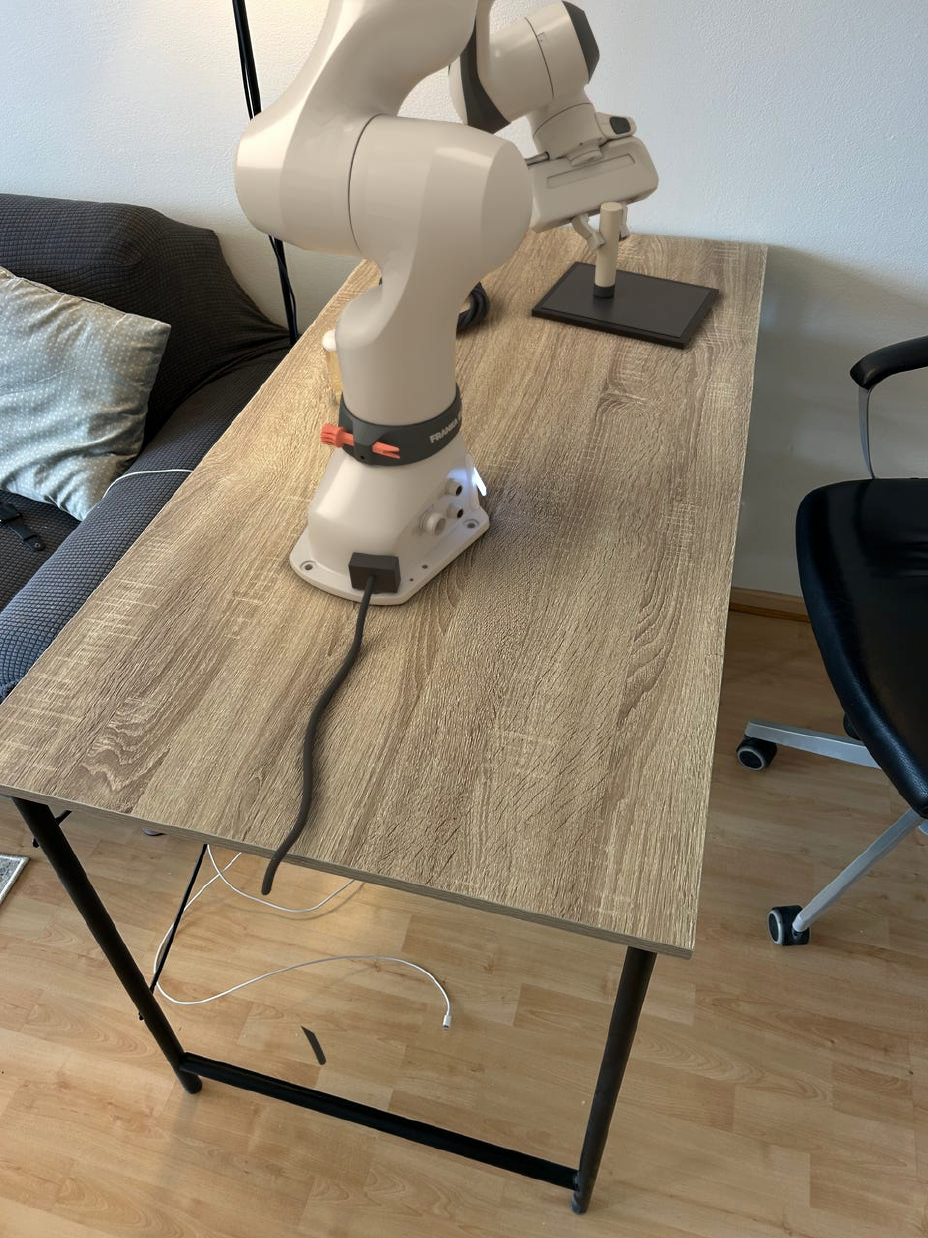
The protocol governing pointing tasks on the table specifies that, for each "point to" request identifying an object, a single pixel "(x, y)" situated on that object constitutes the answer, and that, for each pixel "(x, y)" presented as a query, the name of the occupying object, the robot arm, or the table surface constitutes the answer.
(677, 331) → the tablet
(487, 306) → the cable
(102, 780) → the table surface
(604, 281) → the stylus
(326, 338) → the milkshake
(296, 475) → the table surface
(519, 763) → the table surface
